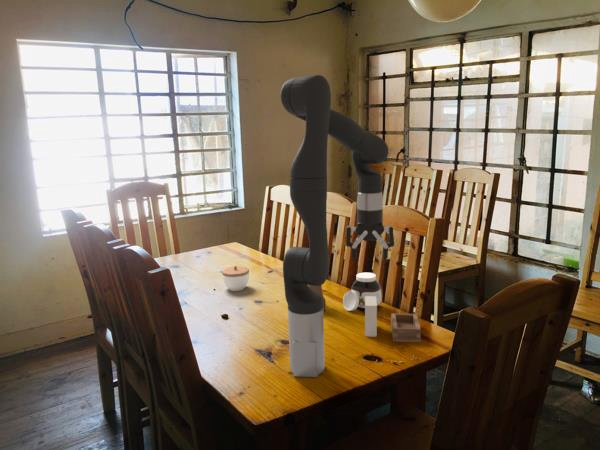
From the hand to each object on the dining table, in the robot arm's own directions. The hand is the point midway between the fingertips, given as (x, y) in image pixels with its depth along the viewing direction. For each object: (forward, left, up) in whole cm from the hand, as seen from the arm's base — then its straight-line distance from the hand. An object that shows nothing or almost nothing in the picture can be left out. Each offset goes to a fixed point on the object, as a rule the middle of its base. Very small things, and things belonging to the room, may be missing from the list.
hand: (369, 259), depth 147 cm
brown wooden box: (-1, -11, -23) cm, 25 cm away
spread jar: (+19, +3, -23) cm, 30 cm away
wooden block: (+18, +19, -23) cm, 35 cm away
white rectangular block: (0, 0, -23) cm, 23 cm away
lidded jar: (+37, +53, -23) cm, 68 cm away
